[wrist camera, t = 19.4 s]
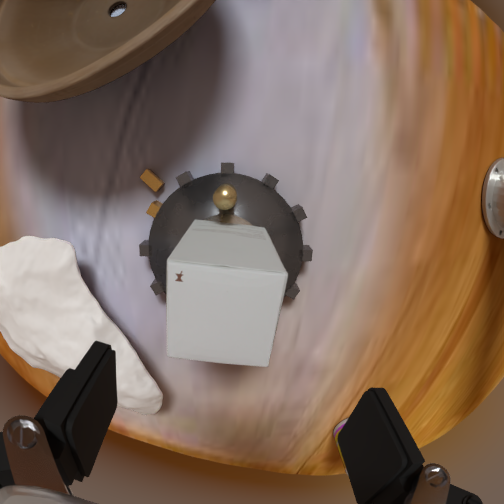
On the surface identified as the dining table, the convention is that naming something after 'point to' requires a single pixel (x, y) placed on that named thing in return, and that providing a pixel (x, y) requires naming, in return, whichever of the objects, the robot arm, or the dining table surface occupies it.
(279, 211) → the sprocket disc
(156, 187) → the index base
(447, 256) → the dining table surface
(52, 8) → the flower pot
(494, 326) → the dining table surface
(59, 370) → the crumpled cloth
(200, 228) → the supplement box
